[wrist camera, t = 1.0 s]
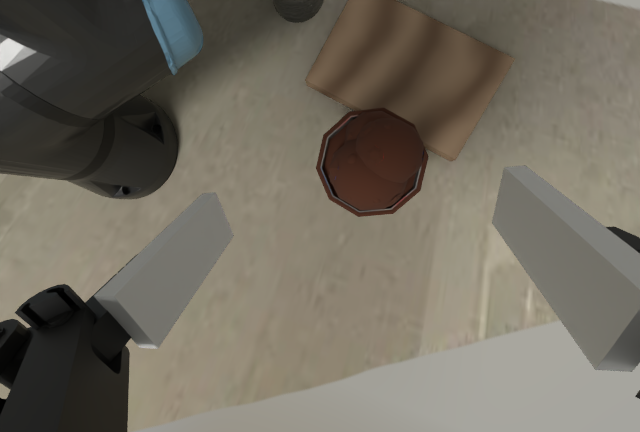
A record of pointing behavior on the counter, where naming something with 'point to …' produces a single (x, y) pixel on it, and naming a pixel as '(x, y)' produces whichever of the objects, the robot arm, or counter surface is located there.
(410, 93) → the walnut board
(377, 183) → the ice cream bowl
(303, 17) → the metal tin
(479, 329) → the counter surface
